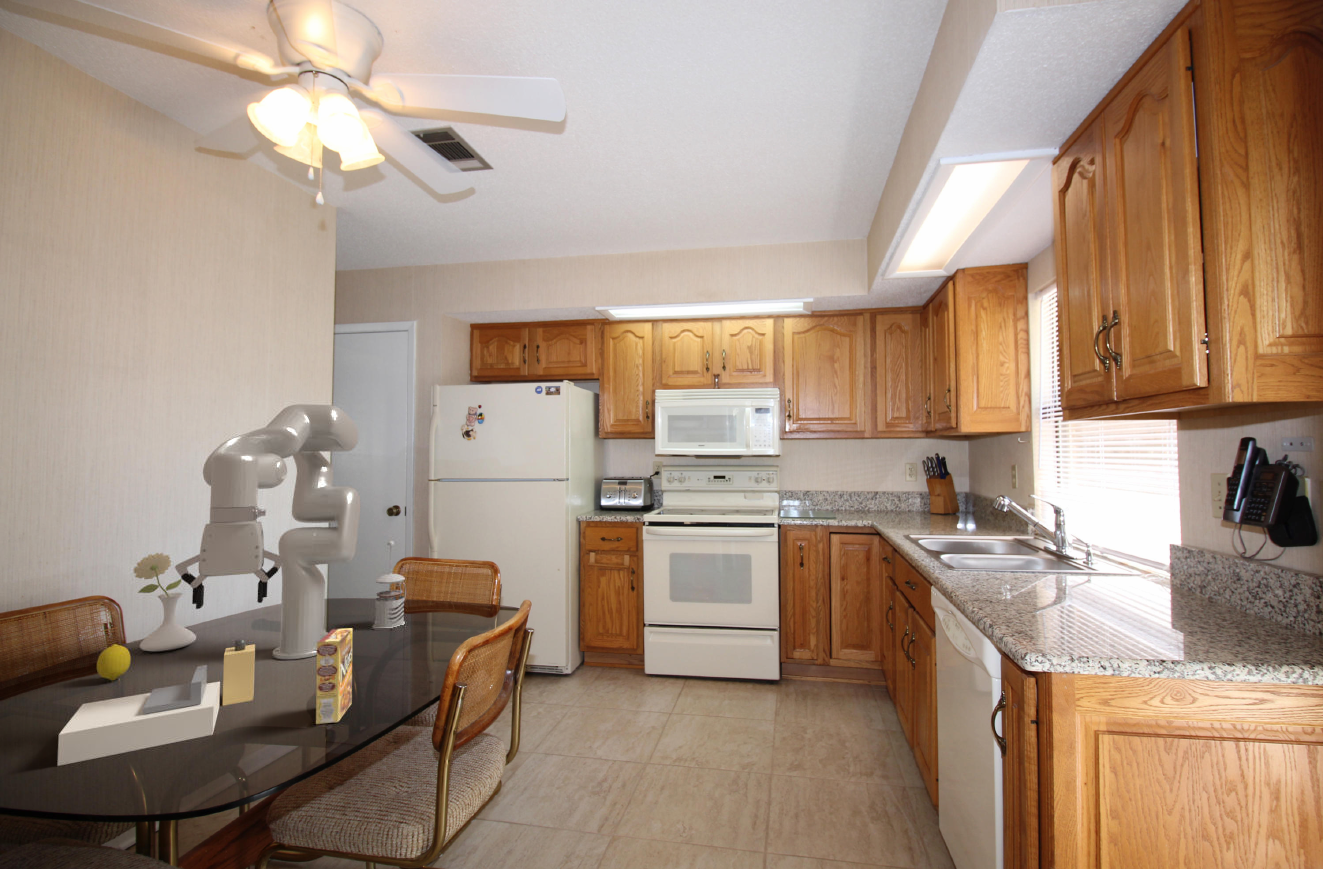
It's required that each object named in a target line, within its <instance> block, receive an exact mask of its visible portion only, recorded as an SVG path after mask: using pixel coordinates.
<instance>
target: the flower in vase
mask: <svg viewBox="0 0 1323 869" xmlns="http://www.w3.org/2000/svg"><path fill="white" fill-rule="evenodd" d="M171 563H172V560H171V557H170V555H169V554H166V555H165V554H164V553H162V552H161V553H158V552H155V554H152V553H151V554H149V555H147V557H143V558H142V559H140V561H139V562H137V563H136V566H134V568H133V574H135V578H137V579H140V580H141V579H143V578H144V580H150V579H151V580H152V579H153V578H156V581H157V584H154V583H151V584H147V585H145V586H143V587H142V588H140V590H138V591H137V593H139V594H140V593H141V594H149V593H151V594H152V593H154V592H155V591H156V590H157V589H159V588H160V589H161V590H162V591H163V592H164V593H163V594H159V595H157V598H158V599H159V600H160V602H161V603H162V607H163V621H162V623H161V625H160V626H159V627H158V628H157V629H155V630H154V631H152V633H150V634H148V636H146V637H145V638H144V639H143V640H142V641H141V642H140V644H139V648H140V649H141V650H142V651H147V652H163V651H164V652H165V651H171V650H176V649H180V648H184V647H187V646H188V645H190V644H192V643H194V642H195V641H196V639H197V636H196V634H195V633H194V632H193V631H191V630H190V629H187V628H186V627H184V626H182V625H180V624H179V623H178V622H177V621H176V608H177V604H178V601H179V599H180V597H182V595H183V593H182V592H170V593H169V592H168V591H171V590H173V589H176V588H177V587H179V586H180V584H181V582H182V581H183V580H182V579H181V578H180V579H179V580H176V581H174V582H172V583H169V584H167V586H166V588H164V587H163V586H162V585H161V583H160V578H159V576H160V575H163V574H166V571H168V570H169V568H171V566H172V564H171Z"/></svg>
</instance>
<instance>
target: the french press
mask: <svg viewBox="0 0 1323 869" xmlns="http://www.w3.org/2000/svg"><path fill="white" fill-rule="evenodd" d="M394 545H395V541H394V540H390V541H388V542H387V546H389V548H390V549H389V550H390V552H389V557H390V558H389V559H390V561H389V573H386V574H383V575H380V576H379V577H377V578H376V579H375V580H374V581H375V583H377V584H388V585H389V587H392V586H391V585H392V584H394V585H395V587H399V589H400V590H398V589H396V590H391V589H389V590H383V591H379V592H377V593H376V596H377V597H376V598H375V601H374V602H375V603H374V604H375V605H374V607H375V609H374V624H373V625H372V626H373V627H374V628H393V627H397V626H400V625H404V624H405V622H406V621H405V620H404V619H405V618H404V617H405V616H404V614H405V611H404V610H405V609H404V606H405V600H406V597H407V588H406V584H405V582H404V581H405V580H406V578H405V577H404V576H403V575H401V574H398V573H392V546H394ZM402 583H403V587H404V592H403V590H402V587H401V585H402ZM397 584H398V585H397ZM403 593H404V595H403ZM397 597H398V599H397Z"/></svg>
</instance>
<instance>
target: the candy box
mask: <svg viewBox="0 0 1323 869" xmlns="http://www.w3.org/2000/svg"><path fill="white" fill-rule="evenodd" d="M352 686H353V628H351V627H350V628H349V627H348V628H335V629H334V628H333V629H331V630H330V631H329V632H328V634H327V635H326V636H325V637H323V638H322V639H321V640H320V641H318V642H317V655H316V688H315V689H316V694H315V695H316V702H315V703H316V704H315V705H316V706H315V724H316V725H320V724H329V723H330V724H332V723H338V722H339V721H340V720H341V719H342V717H343V716H344V715H345V714H346V712H347V711H348V709H349V708H350V707H351V705H352V702H353V701H352V700H353V691H352V690H353V687H352Z"/></svg>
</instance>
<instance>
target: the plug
mask: <svg viewBox="0 0 1323 869" xmlns="http://www.w3.org/2000/svg"><path fill="white" fill-rule="evenodd" d="M255 658H256V644H249V645H247V644H246V638H238V639H235V640H234V646H233V647H227V648H225V650H224V654H223V679H222V681H223V682H222V683H223V684H222V706H223V707H224V706H228V705H234V704H239V703H244V702H250V701H251V702H252V701H253V700H254V693H255V692H254V690H255V661H256V660H255Z"/></svg>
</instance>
